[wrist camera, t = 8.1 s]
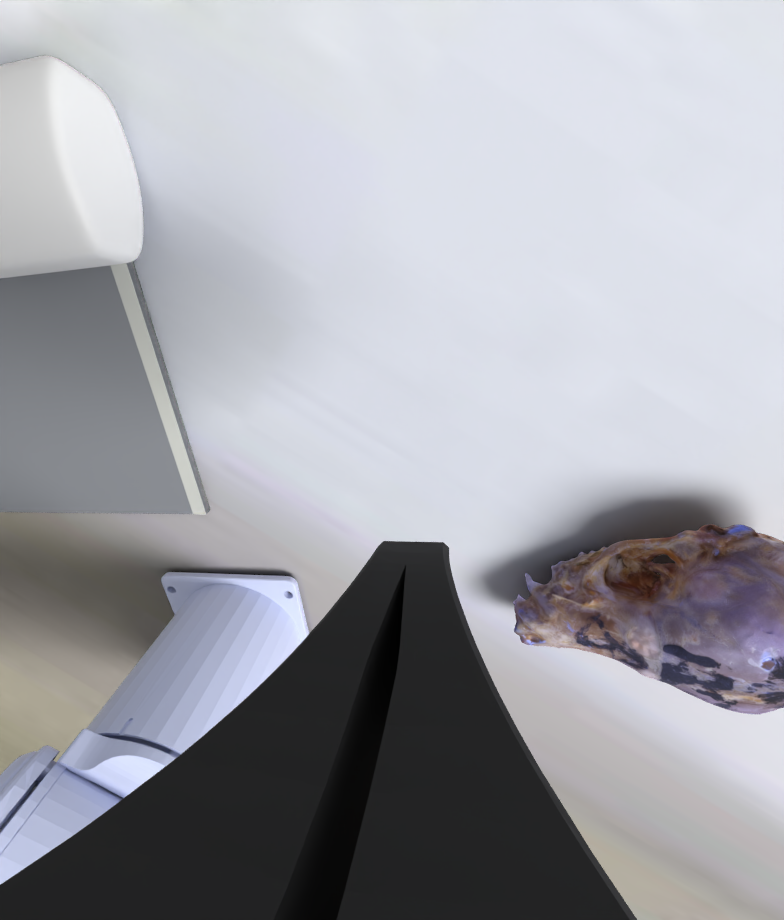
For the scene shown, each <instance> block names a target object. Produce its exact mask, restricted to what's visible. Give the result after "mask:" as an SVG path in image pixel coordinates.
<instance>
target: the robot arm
mask: <svg viewBox="0 0 784 920" xmlns="http://www.w3.org/2000/svg"><path fill="white" fill-rule="evenodd" d="M161 582H162V585H163V587H164V590H165V592H166V595H167V597H168V600H169V602H170V605H171V607H172V610H173V612H174V615H175V616H174V617H173V618H172V619H171V621H170V622H169V623H168V625H167V626H166V627H165V628H164V630H163V631H162V632H161V634H160V635H159V636H158V637H157V639H156V640H155V641H154V642H153V644H152V645H151V646H150V648H149V649H148V650H147V651H146V653H145V654H144V655H143V657H142V658H141V659H140V660H139V662H138V663H137V664H136V666H135V667H134V668H133V669H132V671H131V672H130V673H129V675H128V676H127V677H126V678H125V680H124V681H123V682H122V683H121V685H120V686H119V687H118V689H117V690H116V691H115V692H114V694H113V695H112V696H111V698H110V699H109V700H108V701H107V703H106V704H105V705H104V707H103V708H102V709H101V710H100V712H99V713H98V714H97V716H96V717H95V718H94V719H93V721H92V722H91V723H90V724H89V726H88V727H87V728H86V729H82V731H81V732H80V733H79V734H78V736H77V737H76V738H75V739H74V741H73V742H72V743H71V745H70V746H69V747H68V748H67V750H66V751H65V752H64V753H63V755H62V756H61V757H60V759H59V760H58V761H57V762H55V761H53V760H54V759H55V757H56V756H57V755H58V753H59V752H60V751H58V750H56V749H55V748H53V747H51V746H48V745H46V746H43V747H42V748H41V749H39V750H38V751H33V752H30V753H27V754H24V755H21V756H19V757H18V758H17V759H16V760H15V761H13V762H12V763H11V764H10V765H9V766H8V767H7V768H6V769H5V770H4V772H3V773H2V774H1V775H0V920H637V919H636V917H635V916H634V914H633V913H632V911H631V910H630V908H629V907H628V905H627V904H626V902H625V901H624V899H623V898H622V896H621V895H620V893H619V892H618V890H617V889H616V888H615V886H614V885H613V883H612V882H611V880H610V879H609V877H608V876H607V874H606V873H605V871H604V870H603V868H602V867H601V865H600V864H599V862H598V861H597V859H596V858H595V856H594V855H593V853H592V852H591V850H590V848H589V847H588V845H587V844H586V842H585V840H584V839H583V837H582V836H581V834H580V832H579V831H578V829H577V828H576V826H575V824H574V823H573V821H572V820H571V818H570V816H569V815H568V813H567V811H566V810H565V808H564V807H563V805H562V803H561V802H560V800H559V799H558V797H557V795H556V794H555V792H554V791H553V789H552V787H551V786H550V784H549V783H548V781H547V779H546V778H545V776H544V775H543V773H542V771H541V770H540V768H539V766H538V765H537V763H536V761H535V759H534V757H533V756H532V754H531V752H530V750H529V749H528V747H527V745H526V743H525V742H524V740H523V738H522V736H521V734H520V733H519V731H518V729H517V727H516V725H515V724H514V722H513V720H512V718H511V716H510V714H509V712H508V710H507V708H506V706H505V705H504V703H503V701H502V699H501V697H500V695H499V693H498V691H497V689H496V687H495V685H494V683H493V681H492V679H491V676H490V674H489V672H488V670H487V668H486V666H485V663H484V661H483V659H482V657H481V654H480V652H479V650H478V648H477V646H476V643H475V641H474V638H473V636H472V633H471V631H470V628H469V626H468V623H467V620H466V617H465V615H464V612H463V609H462V607H461V604H460V601H459V598H458V595H457V592H456V588H455V584H454V581H453V577H452V573H451V568H450V562H449V547H448V546H447V545H445V544H444V543H443V542H394V541H383V542H382V543H381V544H380V545H379V546H378V548H377V549H376V550H375V552H374V553H373V555H372V556H371V558H370V559H369V560H368V562H367V563H366V565H365V566H364V567H363V569H362V570H361V571H360V573H359V574H358V575H357V577H356V578H355V579H354V581H353V582H352V583H351V585H350V586H349V587H348V589H347V590H346V591H345V592H344V593H343V595H342V596H341V597H340V598H339V600H338V601H337V602H336V603H335V605H334V606H333V607H332V608H331V610H330V611H329V612H328V613H327V614H326V616H325V617H324V618H323V619H322V620H321V621H320V622H319V624H318V625H317V626H316V627H315V628H314V629H313V630H312V631H311V632H310V634H309V631H308V627H307V623H306V618H305V614H304V609H303V605H302V601H301V596H300V592H299V588H298V583H297V581H296V580H295V579H294V578H292V577H289V576H270V575H242V574H214V573H185V572H167V573H166V574H164V576H163V577H162V578H161ZM287 591H289V592H291V593H289V592H287Z"/></svg>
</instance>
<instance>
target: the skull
mask: <svg viewBox="0 0 784 920" xmlns="http://www.w3.org/2000/svg"><path fill="white" fill-rule="evenodd" d="M662 554H665V555H668V556H669V557H670V559H671V560H673V561H675V563H666V564H657V563H654V562H652V560H653V559H654V558H655V557H658V556H659V555H662ZM551 569H552V578H551V580H550V581H549V583H547V584H544V585H543V584H540V583H537V582H534V581H533V580H532V578H531V576H530V575H529V574H527V573H525V578H526V583H527V587H528V590H529V592H530V597H529V598H528V599H526V600H525V599H524V598H522V597H521V596H520V595H519V594H518V597H517V599H516V600H514V601H513V603H514V605H515V613H516V621H517V623H516V625H515V629H514V632H515V633H516V634H518V635H519V636H520V639H521V642H522V643H524V644H527V645H534V646H550V647H557V648H561V647H563V648H575V649H580V650H583V651H589V652H593V653H597V654H600V655H603V656H606V657H609V658H612V659H615V660H618V661H620V662H622V663H623V664H625V665H627V666H629V667H631V668H633V669H634V670H636V671H638V672H639V673H640V674H642V675H644V676H646V677H649V678H652V679H656V680H659V681H662V682H665V683H668V684H670V685H672V686H674V687H676V688H678V689H680V690H682V691H684V692H686V693H688V694H690V695H692V696H695V697H697V698H699V699H702V700H704V701H706V702H708V703H711V704H713V705H716V706H719V707H722V708H725V709H727V710H731V711H735V712H740V713H747V714H762V713H766V712H770V711H774V710H777V709H779V708H784V542H783V541H781V540H778V539H776V538H773V537H771V536H768V535H765V534H761V533H756V532H755V531H754V530H753V529H752V528H750V527H748V526H745V525H732V526H730V527H728V528H721V527H718V526H716V525H714V524H707V525H704V526H702V527H700V528H699V530H697V531H691V530H685V531H683V532H681V533H679V534H677V535H675V536H672V537H667V538H651V539H635V540H624V541H619V542H616V543H614V544H612V545H610V546H609V547H608V548H606V547H602V548H601V549H600V550H599V551H591V552H590V553H588V554H585V553H583V552H580V553H579V555H578V556H577V557H576V558H572V559H570V560H568V561H560V562H559V563H558V564H556V565H552V566H551ZM657 573H660V574H661V575H658V574H657Z"/></svg>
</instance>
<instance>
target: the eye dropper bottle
mask: <svg viewBox="0 0 784 920" xmlns="http://www.w3.org/2000/svg"><path fill="white" fill-rule="evenodd" d="M142 245H143V206H142V197H141V191H140V185H139V180H138V176H137V172H136V168H135V164H134V160H133V157H132V154H131V151H130V147H129V145H128V142H127V139H126V136H125V133H124V131H123V128H122V125H121V123H120V120H119V118H118V115H117V113H116V111H115V109H114V106H113V105H112V103H111V101H110V99H109V98H108V96H107V94H106V93H105V92H104V91H103V90H102V89H101V88H100V87H99V86H98V85H97V84H95V83H94V82H93V81H91V80H90V79H88V78H87V77H85V76H84V75H83V74H81V73H80V72H78V71H77V70H75V69H74V68H72V67H71V66H69V65H68V64H66V63H65V62H63V61H61V60H60V59H58V58H55V57H51V56H47V55H43V56H37V57H33V58H29V59H24V60H20V61H15V62H11V63H7V64H2V65H0V278H9V277H17V276H26V275H35V274H43V273H52V272H60V271H68V270H77V269H85V268H93V267H101V266H110V265H118V264H124V263H129V262H132V261H134V260H136V259H137V258H138V256H139V255H140V253H141V250H142Z"/></svg>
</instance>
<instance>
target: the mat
mask: <svg viewBox="0 0 784 920" xmlns="http://www.w3.org/2000/svg"><path fill="white" fill-rule="evenodd" d="M209 511H210V507H209V504H208V501H207V498H206V495H205V491H204V488H203V485H202V482H201V479H200V475H199V472H198V469H197V466H196V463H195V459H194V456H193V453H192V450H191V446H190V443H189V440H188V437H187V434H186V430H185V427H184V424H183V421H182V418H181V414H180V411H179V408H178V405H177V401H176V398H175V395H174V392H173V389H172V385H171V382H170V379H169V376H168V373H167V369H166V366H165V363H164V360H163V357H162V353H161V350H160V347H159V344H158V340H157V337H156V334H155V331H154V328H153V324H152V321H151V318H150V315H149V312H148V308H147V305H146V302H145V299H144V295H143V292H142V289H141V286H140V283H139V279H138V276H137V273H136V270H135V267H134V263H133V261H132V262H129V263H124V264H118V265H110V266H101V267H93V268H85V269H77V270H68V271H60V272H52V273H43V274H35V275H26V276H17V277H9V278H0V512H47V513H143V514H197V515H206V514H207V513H208V512H209Z"/></svg>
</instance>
